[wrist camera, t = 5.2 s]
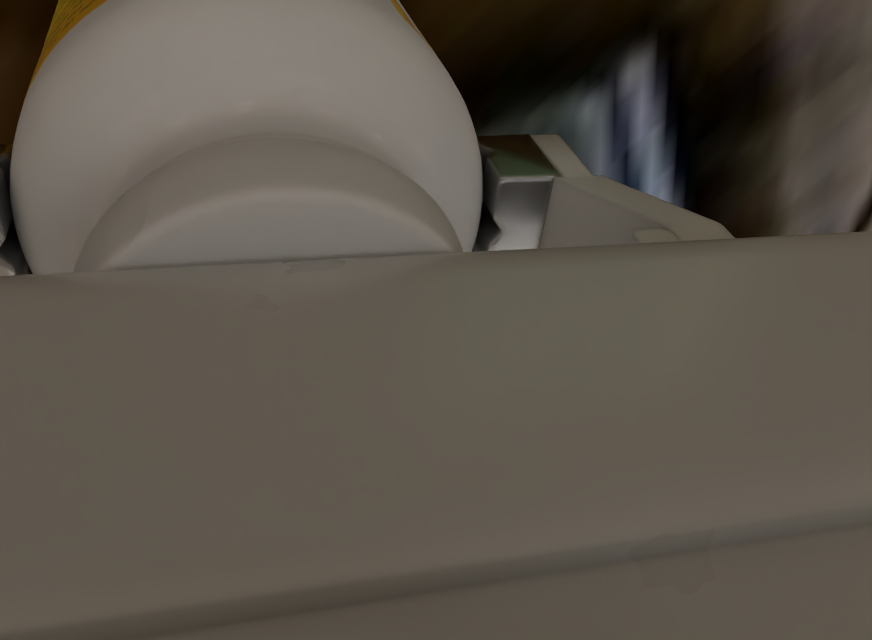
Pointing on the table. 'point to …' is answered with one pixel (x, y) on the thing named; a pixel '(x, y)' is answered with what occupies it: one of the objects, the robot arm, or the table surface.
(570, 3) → the table surface
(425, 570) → the robot arm
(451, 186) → the supplement bottle
